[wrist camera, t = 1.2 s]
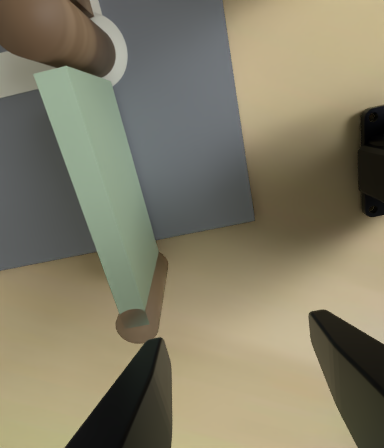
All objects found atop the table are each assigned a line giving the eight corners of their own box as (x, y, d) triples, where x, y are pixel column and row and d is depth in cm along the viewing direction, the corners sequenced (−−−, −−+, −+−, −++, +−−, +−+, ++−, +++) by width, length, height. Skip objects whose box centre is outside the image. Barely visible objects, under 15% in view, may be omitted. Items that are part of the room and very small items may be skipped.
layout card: (134, -579, 10) (131, -620, 9) (253, 217, 20) (255, 221, 19) (-381, -368, 11) (-412, -393, 11) (-32, 274, 21) (-38, 278, 20)
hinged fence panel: (118, 79, 16) (77, 62, 10) (171, 275, 20) (163, 339, 14) (81, 88, 16) (21, 76, 10) (142, 280, 20) (122, 346, 15)
